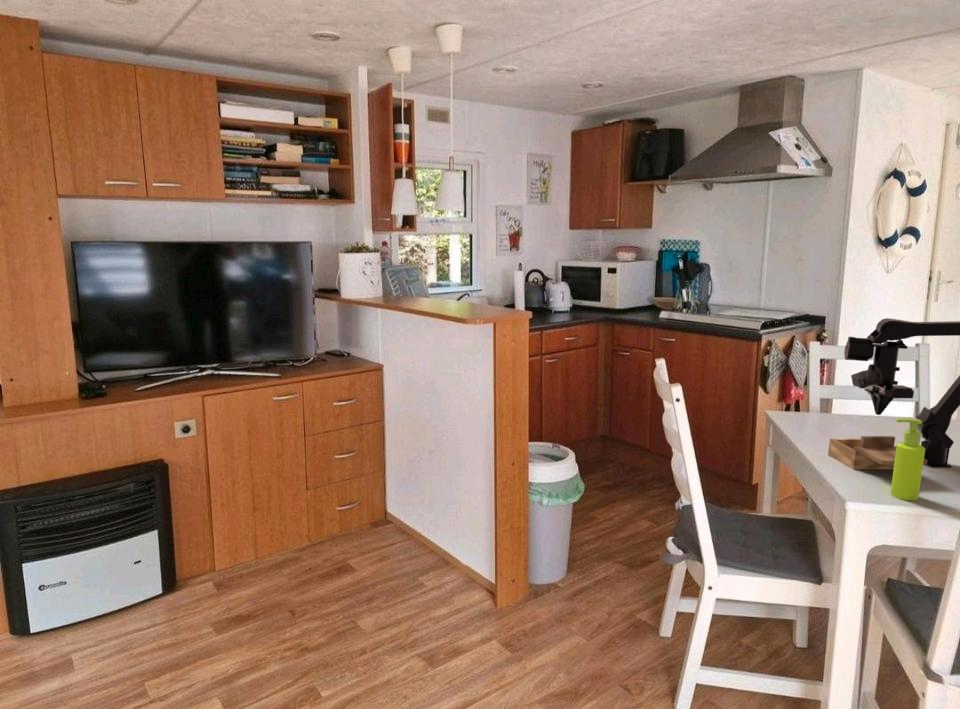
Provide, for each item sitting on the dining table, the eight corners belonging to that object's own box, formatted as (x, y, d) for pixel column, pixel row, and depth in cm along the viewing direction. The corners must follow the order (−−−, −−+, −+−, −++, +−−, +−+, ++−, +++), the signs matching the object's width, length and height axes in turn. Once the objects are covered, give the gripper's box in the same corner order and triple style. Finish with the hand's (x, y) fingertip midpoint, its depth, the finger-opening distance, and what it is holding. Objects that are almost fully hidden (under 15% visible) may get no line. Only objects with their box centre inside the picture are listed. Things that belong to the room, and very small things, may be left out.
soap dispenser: (883, 489, 165) (892, 414, 162) (914, 493, 163) (925, 417, 160) (888, 498, 160) (898, 420, 156) (921, 502, 158) (932, 423, 154)
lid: (896, 449, 181) (898, 435, 180) (927, 464, 169) (929, 449, 169) (853, 449, 180) (855, 436, 179) (881, 464, 169) (883, 449, 168)
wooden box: (869, 454, 192) (871, 438, 191) (897, 468, 181) (900, 452, 180) (827, 454, 192) (829, 438, 191) (853, 469, 180) (855, 452, 179)
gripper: (838, 356, 194) (832, 406, 197) (879, 369, 175) (872, 423, 178) (873, 356, 194) (867, 406, 197) (918, 369, 176) (910, 423, 179)
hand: (878, 414), depth 188 cm, fingers closed
